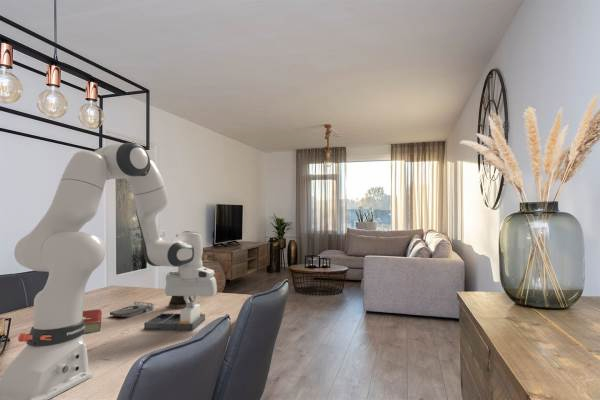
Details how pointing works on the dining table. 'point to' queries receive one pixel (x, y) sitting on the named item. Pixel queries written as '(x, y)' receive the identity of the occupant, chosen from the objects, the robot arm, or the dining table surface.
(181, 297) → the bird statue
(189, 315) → the white rectangular block
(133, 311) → the graphics card
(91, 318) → the hardcover book
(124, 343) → the dining table surface
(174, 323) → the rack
